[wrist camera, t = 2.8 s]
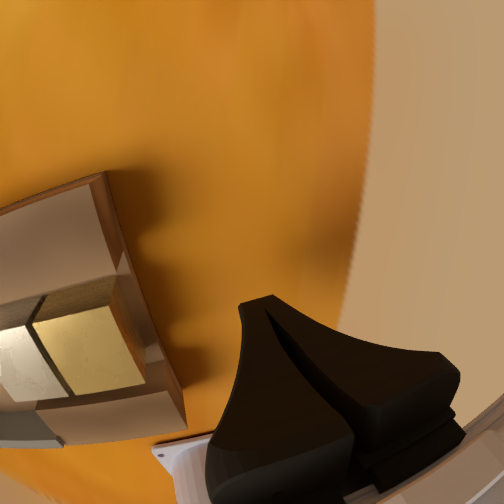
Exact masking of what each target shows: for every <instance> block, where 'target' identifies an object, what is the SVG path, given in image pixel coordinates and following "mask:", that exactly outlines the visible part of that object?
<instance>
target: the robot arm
mask: <svg viewBox="0 0 504 504" xmlns="http://www.w3.org/2000/svg"><path fill="white" fill-rule="evenodd" d="M238 310H239V314H240V319H241V323H242V342H241V351H240V359H239V365H238V370H237V374H236V378H235V382H234V385H233V389H232V392H231V395H230V398H229V400H228V403H227V405H226V408H225V410H224V413H223V415H222V418H221V420H220V422H219V424H218V426H217V428H216V429H215V431H214V433H212V434H208V435H204V436H199V437H195V438H190V439H185V440H180V441H175V442H170V443H164V444H158V445H154V446H152V448H151V450H152V453H153V455H154V456H155V457H156V458H157V459H158V461H159V462H160V463H161V464H162V465H163V467H164V468H165V469H166V470H167V471H168V472H169V474H170V475H171V476H172V477H173V480H174V487H175V493H176V499H177V504H504V394H503V395H502V396H500V397H499V398H498V399H497V400H496V401H495V402H494V403H493V404H491V405H490V406H489V407H488V408H487V409H486V410H484V411H483V412H482V413H481V414H479V415H478V416H477V417H476V418H475V419H473V420H472V421H471V422H470V423H468V424H467V425H466V426H464V427H463V428H461V427H460V426H459V425H458V423H456V421H455V420H454V419H453V418H454V417H455V415H456V414H455V412H454V411H453V410H452V409H451V407H450V404H451V402H452V400H453V398H454V396H455V393H456V391H457V389H458V386H459V383H460V372H459V370H458V369H457V368H456V367H455V366H454V365H453V364H452V363H451V362H450V361H449V360H448V359H447V358H446V357H444V356H443V355H442V354H441V353H440V352H429V351H414V350H405V349H399V348H392V347H387V346H382V345H378V344H374V343H370V342H367V341H363V340H360V339H357V338H353V337H351V336H348V335H345V334H343V333H340V332H338V331H335V330H333V329H331V328H329V327H327V326H324V325H322V324H320V323H318V322H316V321H315V320H313V319H311V318H309V317H308V316H306V315H304V314H302V313H301V312H299V311H297V310H296V309H294V308H293V307H291V306H290V305H288V304H287V303H285V302H284V301H282V300H281V299H279V298H277V297H276V296H274V295H273V294H272V295H269V296H265V297H262V298H258V299H255V300H251V301H248V302H244V303H240V305H239V306H238Z"/></svg>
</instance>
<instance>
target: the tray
mask: <svg viewBox="0 0 504 504" xmlns="http://www.w3.org/2000/svg"><path fill="white" fill-rule="evenodd" d="M63 447H64V443H63V442H62V441H61V440H60V439H59V438H58V437H57V436H56V435H55V434H54V432H53V431H52V430H51V429H50V428H49V427H48V426H47V425H46V423H45V422H44V421H43V420H42V419H41V418H40V416H39V415H38V414H37V413H36V412H35V410H33V411H18V412H0V448H63Z"/></svg>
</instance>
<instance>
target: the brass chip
mask: <svg viewBox="0 0 504 504" xmlns="http://www.w3.org/2000/svg"><path fill="white" fill-rule="evenodd" d="M32 325H33V327H34V329H35V330H36V332H37V334H38V336H39V338H40V339H41V341H42V343H43V345H44V346H45V348H46V350H47V352H48V353H49V355H50V357H51V358H52V360H53V361H54V363H55V365H56V366H57V368H58V369H59V371H60V372H61V374H62V376H63V377H64V379H65V380H66V382H67V383H68V385H69V386H70V387H71V389H72V390H73V392H74V393H75V395H82V394H89V393H95V392H102V391H107V390H113V389H119V388H124V387H130V386H135V385H140V384H145V383H146V346H145V344H144V342H143V340H142V337H141V335H140V333H139V331H138V328H137V326H136V324H135V321H134V319H133V316H132V314H131V311H130V309H129V307H128V304H127V302H126V299H125V296H124V294H123V291H122V289H121V286H120V283H119V281H118V278H117V275H116V276H112V277H108V278H104V279H100V280H97V281H93V282H89V283H85V284H81V285H78V286H74V287H70V288H66V289H63V290H59V291H55V292H51V293H49V294H48V296H47V298H46V299H45V301H44V303H43V305H42V306H41V308H40V310H39V312H38V314H37V315H36V317H35V319H34V321H33V323H32Z"/></svg>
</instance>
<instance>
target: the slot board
mask: <svg viewBox="0 0 504 504" xmlns="http://www.w3.org/2000/svg"><path fill="white" fill-rule="evenodd" d="M116 275H117V278H118V281H119V283H120V286H121V289H122V291H123V294H124V296H125V299H126V302H127V304H128V307H129V309H130V311H131V314H132V316H133V319H134V321H135V324H136V326H137V328H138V331H139V333H140V335H141V337H142V340H143V342H144V344H145V346H146V383H145V384H140V385H135V386H130V387H124V388H119V389H113V390H107V391H102V392H95V393H89V394H82V395H75V393H74V392H73V390H72V389H71V390H70V394H69V396H68V397H60V398H52V399H43V400H34V401H23V402H15V401H14V400H13V399H12V397H11V396H10V395H9V393H8V392H7V391H6V389H5V388H4V387H3V385H2V384H1V383H0V412H18V411H33V410H35V412H36V413H37V414H38V415H39V416H40V418H41V419H42V420H43V421H44V422H45V423H46V425H47V426H48V427H49V428H50V429H51V430H52V431H53V432H54V434H55V435H56V436H57V437H58V438H59V439H60V440H61V441H62V442H63V443H64V444H65V445H66V446H69V445H84V444H95V443H105V442H114V441H122V440H130V439H136V438H143V437H149V436H155V435H161V434H166V433H172V432H177V431H182V430H186V429H188V426H187V420H186V414H185V407H184V399H183V392H182V388H181V386H180V384H179V382H178V380H177V378H176V375H175V373H174V371H173V369H172V366H171V364H170V362H169V359H168V357H167V355H166V352H165V350H164V348H163V345H162V343H161V341H160V338H159V336H158V333H157V331H156V328H155V326H154V323H153V321H152V318H151V315H150V313H149V310H148V307H147V305H146V302H145V299H144V297H143V294H142V291H141V288H140V286H139V283H138V280H137V277H136V274H135V271H134V268H133V265H132V262H131V259H130V256H129V253H128V250H127V247H126V244H125V240H124V237H123V234H122V230H121V227H120V224H119V220H118V217H117V213H116V210H115V206H114V202H113V199H112V195H111V191H110V187H109V183H108V179H107V175H106V171H103V172H100V173H97V174H94V175H90V176H87V177H84V178H81V179H78V180H75V181H72V182H69V183H66V184H63V185H60V186H58V187H55V188H52V189H49V190H47V191H44V192H41V193H38V194H36V195H33V196H31V197H28V198H26V199H23V200H20V201H18V202H16V203H13V204H11V205H8V206H6V207H3V208H1V209H0V306H4V305H7V304H11V303H15V302H18V301H22V300H26V299H29V298H33V297H37V296H40V295H43V297H44V300H45V299H46V298H47V296H48V294H49V293H51V292H55V291H59V290H63V289H66V288H70V287H74V286H78V285H81V284H85V283H89V282H93V281H97V280H100V279H104V278H108V277H112V276H116Z"/></svg>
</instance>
